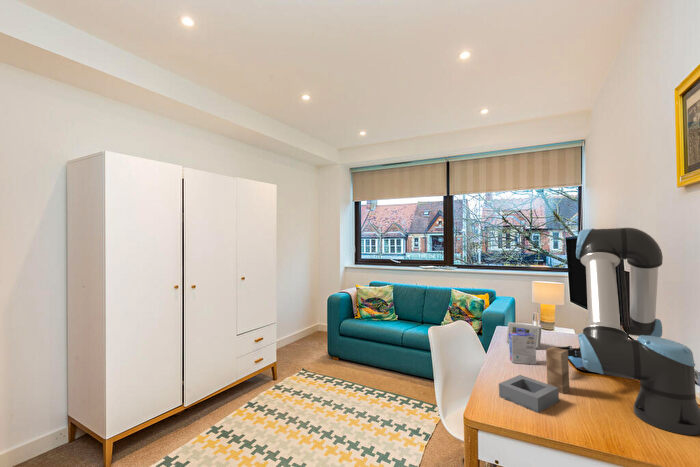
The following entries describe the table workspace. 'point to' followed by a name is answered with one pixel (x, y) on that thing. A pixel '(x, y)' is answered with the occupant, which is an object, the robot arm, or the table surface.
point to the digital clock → (528, 329)
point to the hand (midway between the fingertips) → (568, 361)
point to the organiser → (529, 393)
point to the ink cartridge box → (522, 347)
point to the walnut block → (558, 368)
